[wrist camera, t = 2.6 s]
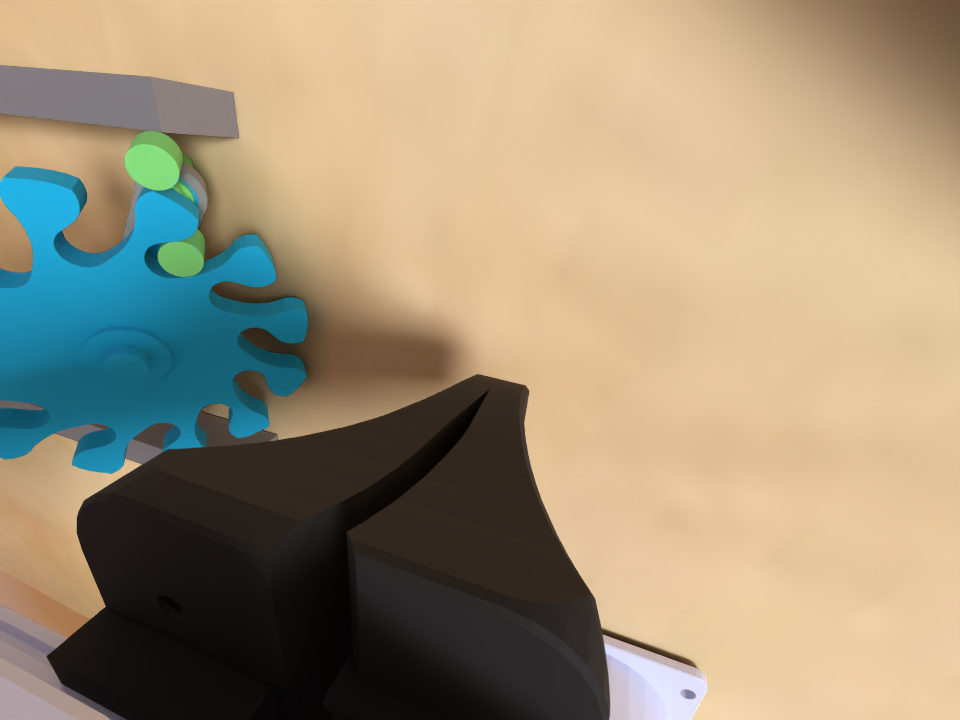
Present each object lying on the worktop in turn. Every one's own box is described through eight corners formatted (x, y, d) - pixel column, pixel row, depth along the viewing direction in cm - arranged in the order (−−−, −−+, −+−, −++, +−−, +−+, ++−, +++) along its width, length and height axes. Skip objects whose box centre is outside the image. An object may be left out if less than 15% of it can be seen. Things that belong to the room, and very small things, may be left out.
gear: (258, 490, 17) (-171, 484, 11) (250, 392, 21) (-65, 347, 15) (378, 245, 13) (-193, 11, 7) (340, 183, 17) (-40, 0, 11)
